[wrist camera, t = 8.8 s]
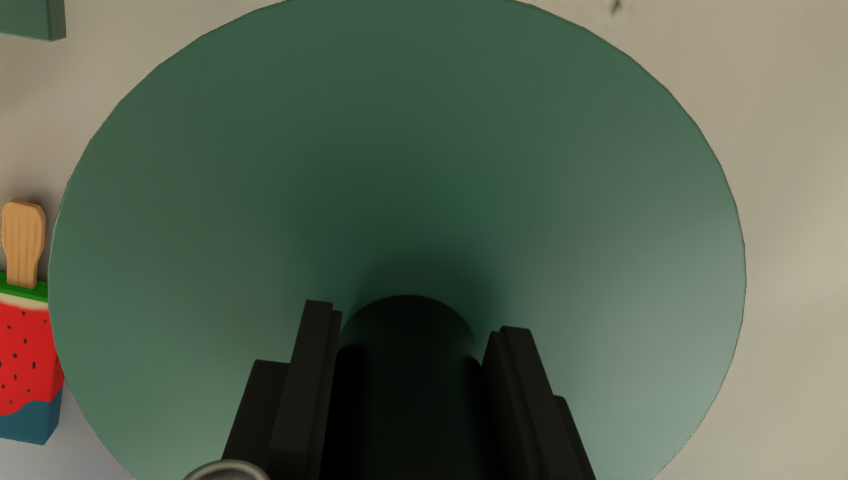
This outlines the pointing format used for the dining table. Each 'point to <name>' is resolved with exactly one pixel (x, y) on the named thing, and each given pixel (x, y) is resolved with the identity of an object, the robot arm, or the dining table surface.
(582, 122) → the lid
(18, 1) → the green cooking pot
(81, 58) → the dining table surface
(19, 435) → the popsicle
